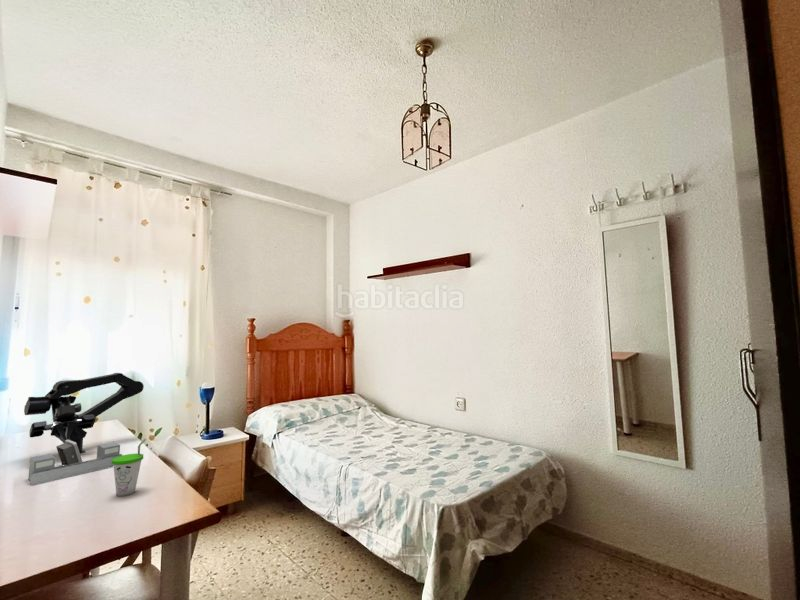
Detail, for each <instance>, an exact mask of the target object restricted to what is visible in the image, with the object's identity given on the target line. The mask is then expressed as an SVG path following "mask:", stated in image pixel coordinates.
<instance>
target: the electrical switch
mask: <svg viewBox="0 0 800 600" xmlns="http://www.w3.org/2000/svg"><path fill="white" fill-rule="evenodd" d="M55 448H56V450H57V454H58V456H59V460H60V463H61V466H62V465H69V464H74V463H79V462H83V460H82V456H81V453H80V452H79V449H78V446H77V443H76V442H73V441H71V440H65V443H63V442H62V443H60V444H59V445H56V447H55Z"/></svg>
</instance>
